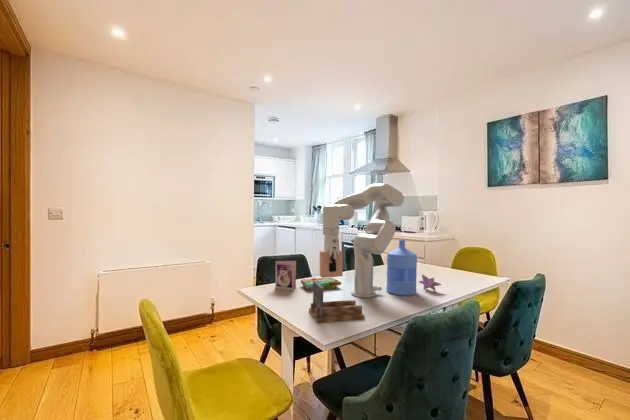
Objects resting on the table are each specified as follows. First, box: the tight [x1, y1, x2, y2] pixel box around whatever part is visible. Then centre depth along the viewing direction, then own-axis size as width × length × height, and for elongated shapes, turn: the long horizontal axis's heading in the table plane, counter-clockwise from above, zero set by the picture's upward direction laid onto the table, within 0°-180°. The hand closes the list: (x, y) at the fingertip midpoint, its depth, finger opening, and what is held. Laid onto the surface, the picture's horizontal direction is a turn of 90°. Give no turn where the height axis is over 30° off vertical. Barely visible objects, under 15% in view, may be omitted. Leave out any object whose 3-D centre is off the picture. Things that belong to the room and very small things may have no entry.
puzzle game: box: [300, 277, 342, 292], centre depth 176 cm, size 12×5×20 cm
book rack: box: [308, 281, 366, 324], centre depth 131 cm, size 20×14×14 cm
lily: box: [418, 274, 442, 293], centre depth 171 cm, size 11×11×9 cm
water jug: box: [385, 239, 418, 297], centre depth 168 cm, size 16×16×28 cm
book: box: [319, 249, 344, 278], centre depth 147 cm, size 10×4×12 cm, turn 105°
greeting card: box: [274, 260, 297, 292], centre depth 173 cm, size 11×7×15 cm, turn 68°
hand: (331, 269), depth 147 cm, fingers closed on book, 4 cm apart
